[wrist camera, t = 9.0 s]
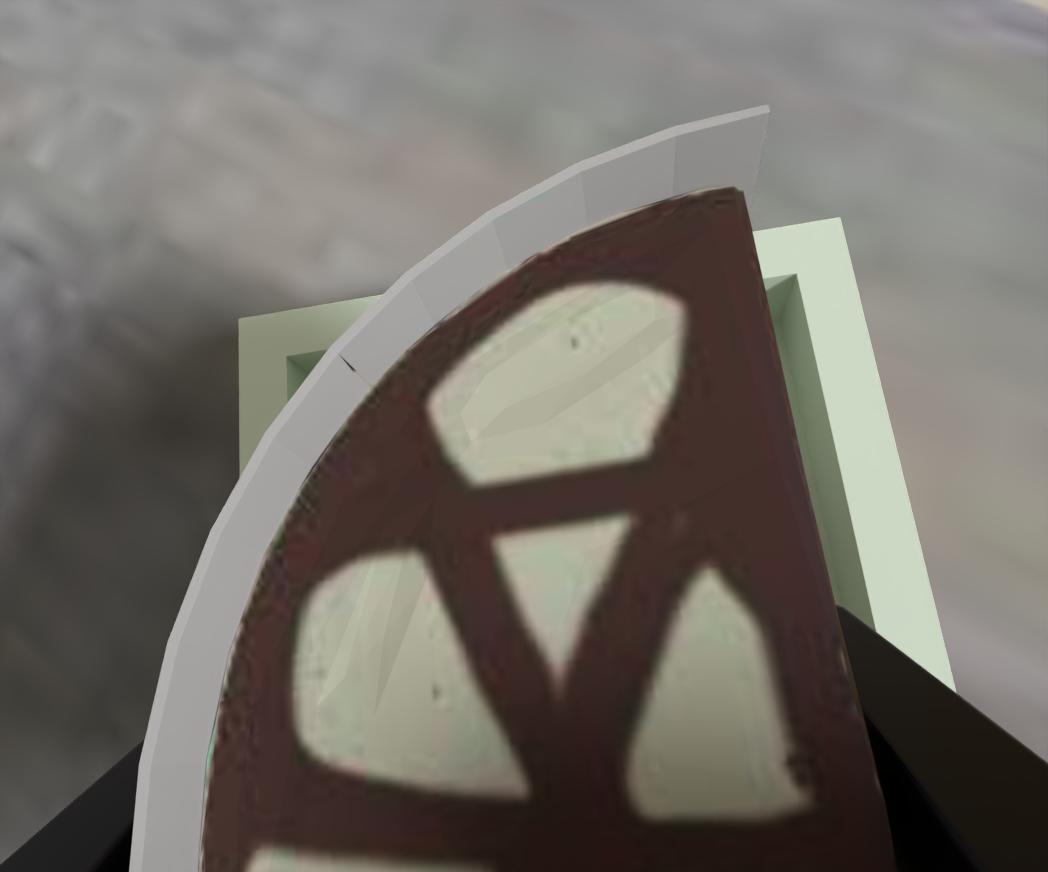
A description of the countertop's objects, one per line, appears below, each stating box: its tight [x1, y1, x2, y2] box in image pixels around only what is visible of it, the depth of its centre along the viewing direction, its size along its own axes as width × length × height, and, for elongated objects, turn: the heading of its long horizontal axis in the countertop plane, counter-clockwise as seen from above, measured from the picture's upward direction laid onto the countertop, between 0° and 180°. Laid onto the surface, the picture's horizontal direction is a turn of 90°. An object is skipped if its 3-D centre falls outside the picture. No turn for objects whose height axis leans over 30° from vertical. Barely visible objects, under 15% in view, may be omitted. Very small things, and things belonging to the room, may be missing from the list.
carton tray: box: [239, 217, 956, 692], centre depth 16 cm, size 18×12×3 cm, turn 6°
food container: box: [129, 104, 898, 872], centre depth 11 cm, size 12×6×10 cm, turn 7°
